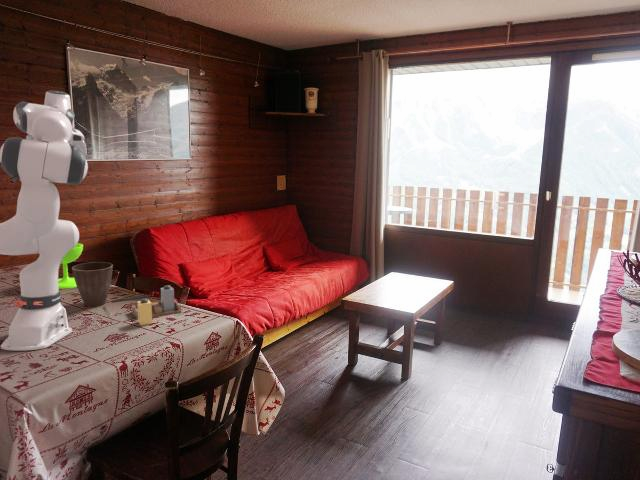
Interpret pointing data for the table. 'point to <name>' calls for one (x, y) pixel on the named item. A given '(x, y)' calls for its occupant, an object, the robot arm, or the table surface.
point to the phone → (131, 298)
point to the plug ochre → (144, 312)
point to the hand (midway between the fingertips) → (57, 167)
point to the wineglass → (68, 258)
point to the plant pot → (93, 281)
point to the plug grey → (167, 298)
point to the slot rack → (158, 309)
